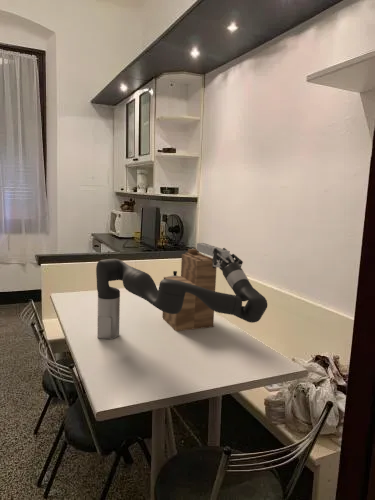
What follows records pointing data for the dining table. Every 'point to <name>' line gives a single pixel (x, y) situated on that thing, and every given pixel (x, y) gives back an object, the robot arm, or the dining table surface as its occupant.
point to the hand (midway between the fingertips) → (218, 249)
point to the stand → (193, 310)
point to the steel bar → (209, 250)
